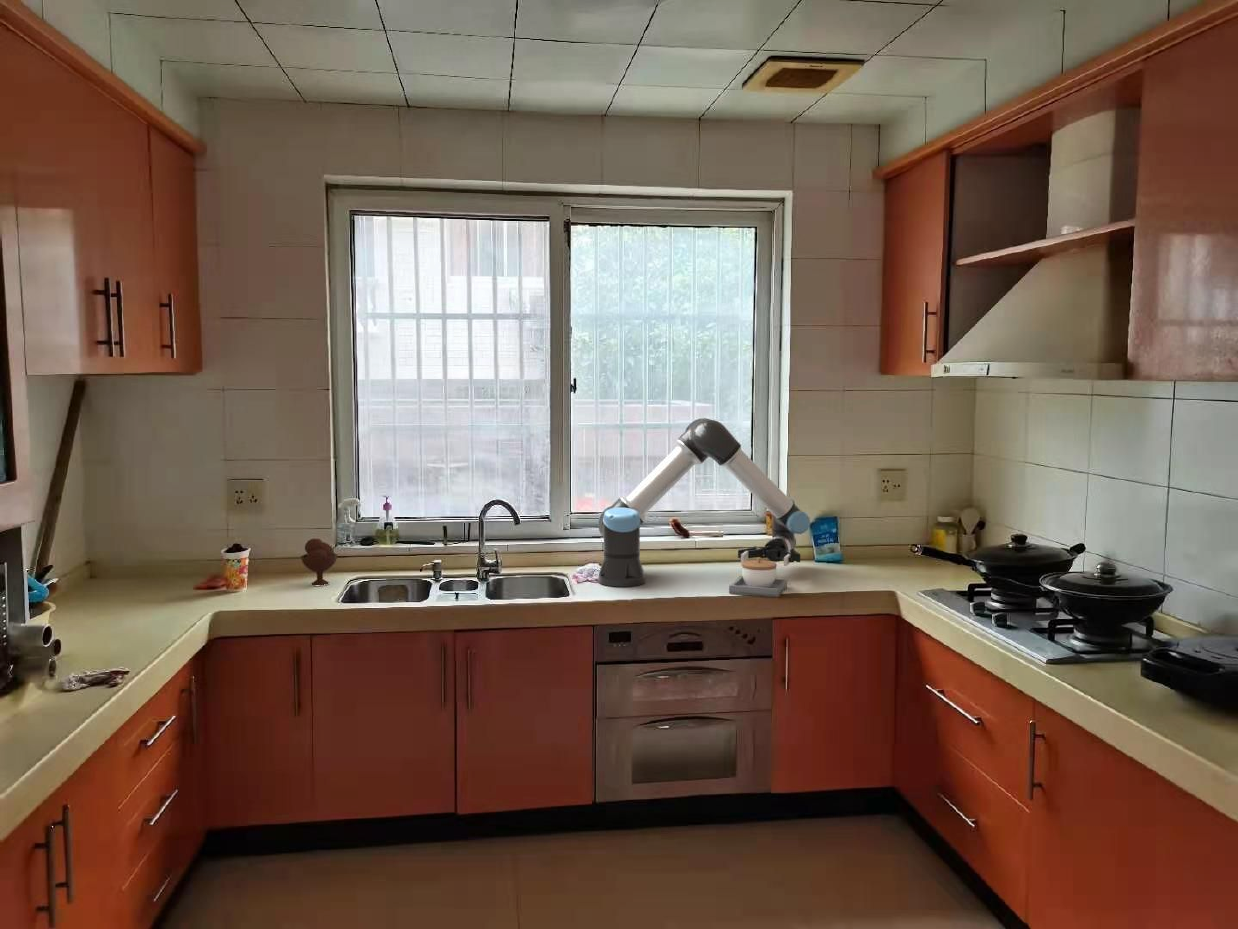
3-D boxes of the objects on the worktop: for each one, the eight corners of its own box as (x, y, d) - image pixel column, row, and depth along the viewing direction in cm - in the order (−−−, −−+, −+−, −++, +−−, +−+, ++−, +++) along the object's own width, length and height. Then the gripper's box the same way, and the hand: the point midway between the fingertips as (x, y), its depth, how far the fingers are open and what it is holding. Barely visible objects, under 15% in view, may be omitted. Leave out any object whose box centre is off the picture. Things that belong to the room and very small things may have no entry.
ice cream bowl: (324, 589, 279) (322, 542, 278) (294, 586, 282) (293, 540, 281) (344, 582, 289) (343, 536, 288) (316, 580, 292) (314, 534, 291)
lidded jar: (774, 584, 281) (775, 555, 281) (777, 592, 271) (777, 561, 270) (740, 583, 283) (741, 554, 282) (742, 591, 272) (742, 561, 271)
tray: (729, 593, 272) (729, 585, 272) (740, 583, 286) (740, 575, 286) (777, 597, 267) (778, 589, 267) (787, 587, 281) (787, 579, 281)
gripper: (814, 562, 295) (803, 575, 275) (740, 557, 304) (724, 569, 285) (815, 540, 294) (803, 551, 275) (741, 535, 304) (724, 546, 284)
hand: (763, 560), depth 280 cm, fingers open, 13 cm apart
